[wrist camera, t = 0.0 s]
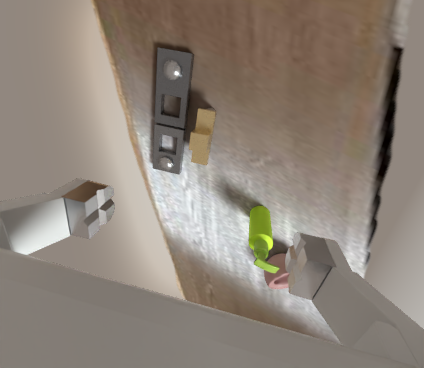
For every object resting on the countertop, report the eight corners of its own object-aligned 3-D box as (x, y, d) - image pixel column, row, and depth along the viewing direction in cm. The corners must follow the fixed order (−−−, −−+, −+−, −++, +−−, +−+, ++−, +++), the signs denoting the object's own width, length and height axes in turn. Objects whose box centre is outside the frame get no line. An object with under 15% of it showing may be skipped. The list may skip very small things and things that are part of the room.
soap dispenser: (266, 226, 66) (270, 280, 48) (246, 216, 65) (243, 267, 48) (276, 212, 63) (285, 264, 45) (256, 202, 63) (256, 250, 45)
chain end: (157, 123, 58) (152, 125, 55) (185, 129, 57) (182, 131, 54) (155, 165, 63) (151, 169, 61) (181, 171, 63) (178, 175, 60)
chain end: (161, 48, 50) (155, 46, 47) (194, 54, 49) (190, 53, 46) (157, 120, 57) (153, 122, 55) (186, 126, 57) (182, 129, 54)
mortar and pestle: (281, 278, 74) (285, 309, 64) (255, 258, 72) (255, 287, 62) (309, 260, 68) (319, 292, 58) (282, 239, 67) (287, 267, 56)
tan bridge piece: (204, 105, 53) (193, 110, 44) (219, 108, 53) (212, 114, 44) (197, 154, 59) (186, 167, 50) (211, 157, 59) (203, 171, 50)
